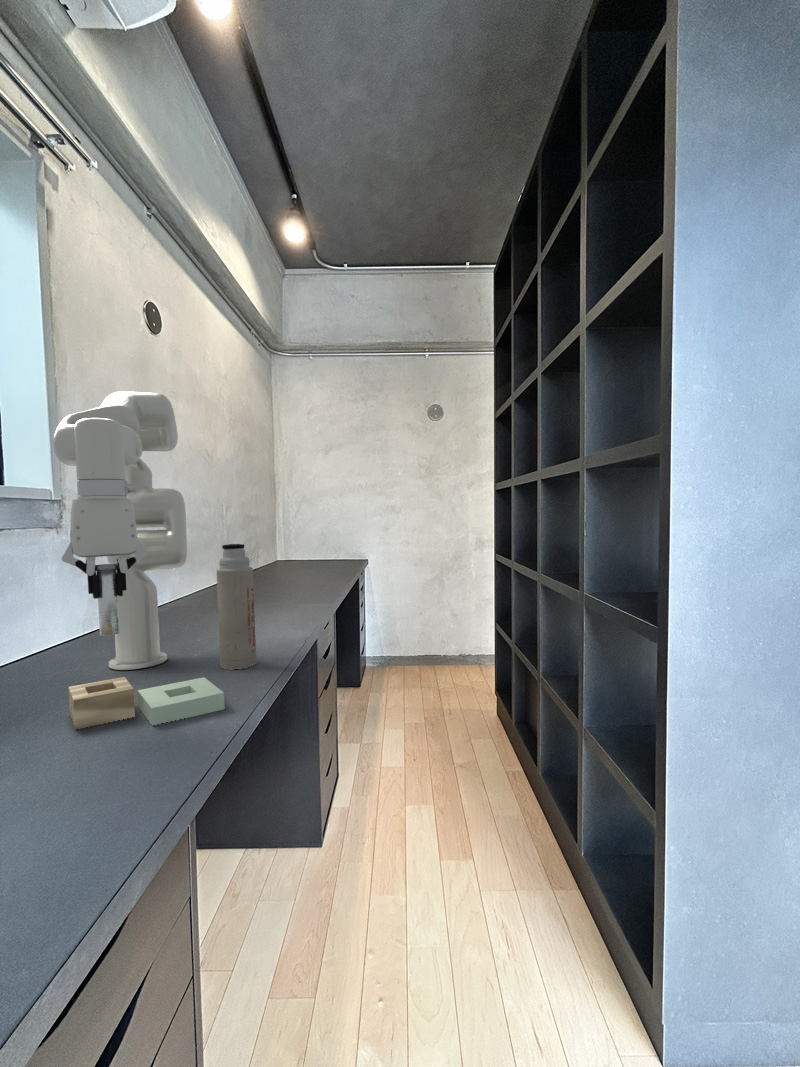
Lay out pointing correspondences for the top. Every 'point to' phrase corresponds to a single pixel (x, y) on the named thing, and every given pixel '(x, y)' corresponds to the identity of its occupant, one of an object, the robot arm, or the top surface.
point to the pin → (107, 598)
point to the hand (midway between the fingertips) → (107, 595)
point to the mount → (101, 702)
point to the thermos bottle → (236, 609)
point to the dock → (180, 700)
